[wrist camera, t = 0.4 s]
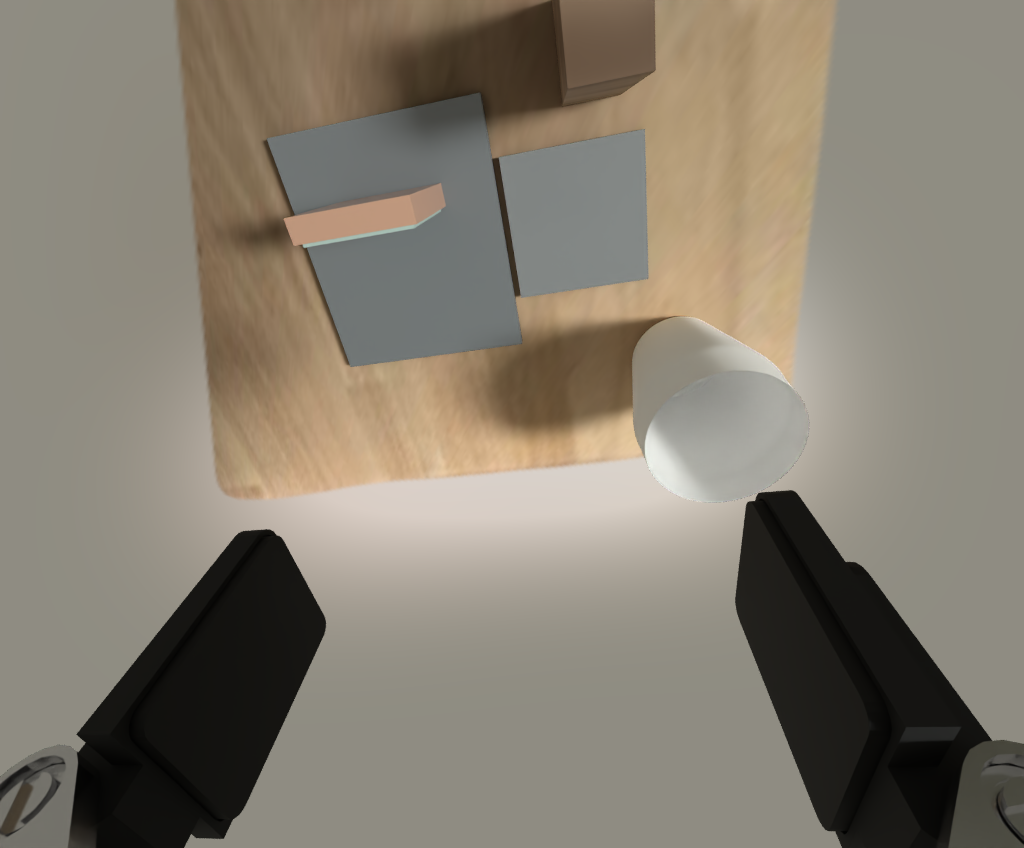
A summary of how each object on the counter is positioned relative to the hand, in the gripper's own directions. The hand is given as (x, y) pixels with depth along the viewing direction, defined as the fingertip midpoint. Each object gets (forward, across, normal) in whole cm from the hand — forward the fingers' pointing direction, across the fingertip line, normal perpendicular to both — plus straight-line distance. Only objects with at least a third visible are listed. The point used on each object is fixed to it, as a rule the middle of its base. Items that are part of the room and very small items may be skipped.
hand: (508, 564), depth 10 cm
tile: (+27, +9, -5) cm, 29 cm away
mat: (+28, +9, -2) cm, 29 cm away
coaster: (+28, -3, -2) cm, 28 cm away
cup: (+28, -10, +8) cm, 31 cm away
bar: (+28, -4, -12) cm, 30 cm away
